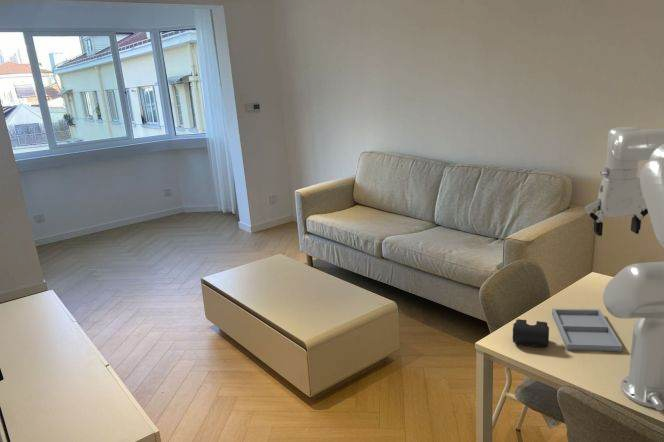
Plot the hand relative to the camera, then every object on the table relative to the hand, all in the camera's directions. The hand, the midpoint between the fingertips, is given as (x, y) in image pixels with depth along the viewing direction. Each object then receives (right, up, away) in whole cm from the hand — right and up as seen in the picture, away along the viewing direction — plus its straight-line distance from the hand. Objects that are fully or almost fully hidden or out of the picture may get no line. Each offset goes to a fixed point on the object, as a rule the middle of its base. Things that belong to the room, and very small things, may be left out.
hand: (616, 233), depth 138 cm
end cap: (-19, -34, +13) cm, 41 cm away
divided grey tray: (0, -31, +17) cm, 36 cm away
